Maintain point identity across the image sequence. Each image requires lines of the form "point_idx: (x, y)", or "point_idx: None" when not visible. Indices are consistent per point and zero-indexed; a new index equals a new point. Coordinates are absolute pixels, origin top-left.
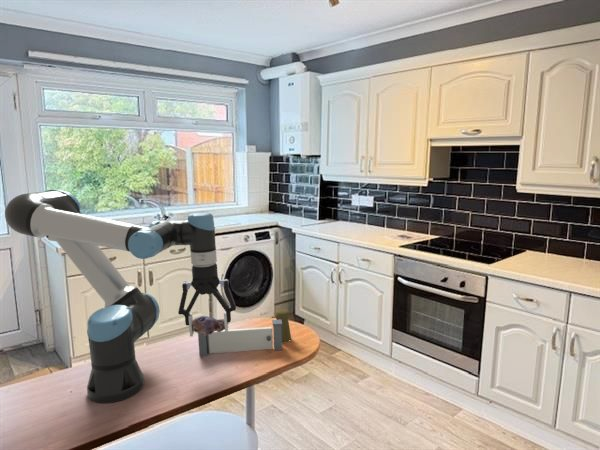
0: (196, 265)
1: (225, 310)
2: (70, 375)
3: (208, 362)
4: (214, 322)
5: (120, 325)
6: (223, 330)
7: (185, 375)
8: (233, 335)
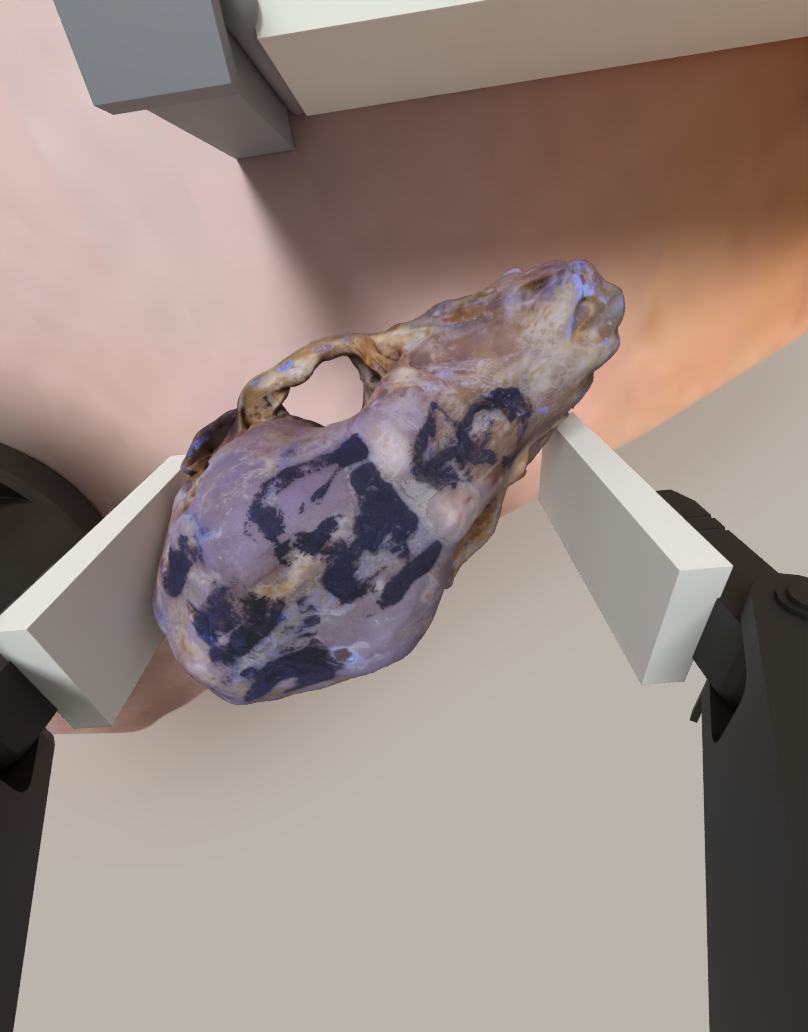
0: None
1: (711, 730)
2: None
3: (339, 279)
4: (450, 565)
5: None
6: None
7: None
8: (569, 15)
